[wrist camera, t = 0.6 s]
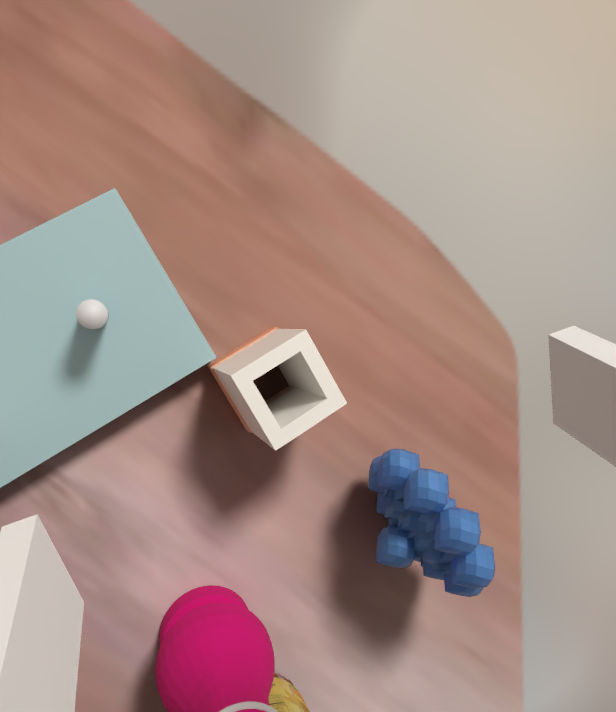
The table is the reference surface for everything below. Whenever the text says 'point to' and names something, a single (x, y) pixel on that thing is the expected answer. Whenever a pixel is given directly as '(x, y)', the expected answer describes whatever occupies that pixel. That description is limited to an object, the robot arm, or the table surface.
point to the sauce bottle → (285, 696)
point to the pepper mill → (214, 655)
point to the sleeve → (292, 404)
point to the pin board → (84, 331)
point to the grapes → (428, 525)
